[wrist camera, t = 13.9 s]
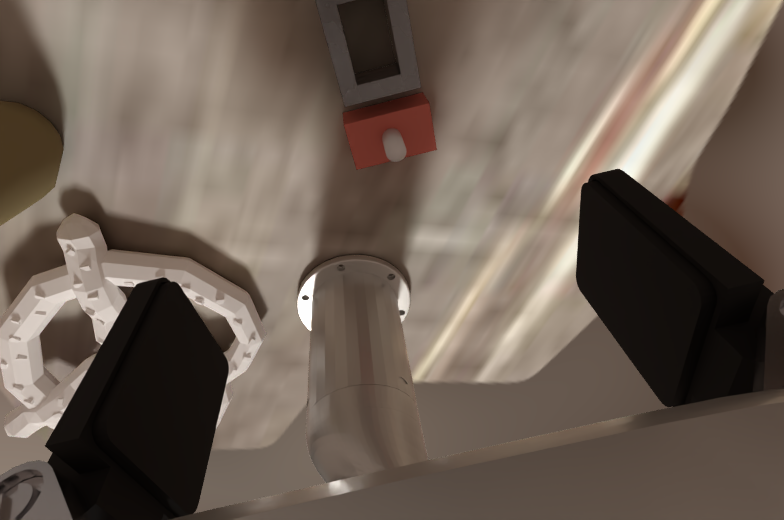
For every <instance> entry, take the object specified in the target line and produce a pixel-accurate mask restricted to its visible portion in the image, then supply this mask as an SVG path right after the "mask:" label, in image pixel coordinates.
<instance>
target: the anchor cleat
mask: <svg viewBox="0 0 784 520" xmlns="http://www.w3.org/2000/svg"><path fill="white" fill-rule="evenodd" d="M343 121H344V127H345V131H346V134H347V138H348V141H349V145H350V148H351V152H352V155H353V159H354V162H355V166H356V169H357V170H358V169H362V168H366V167H370V166H374V165H378V164H382V163H386V162H390V161H393V162H398V161H401V160H402V159H404V158H406V157H410V156H414V155H418V154H422V153H426V152H430V151H434V150H437V148H436V142H435V136H434V129H433V123H432V117H431V111H430V105H429V102H428V100H427V99H426V97H425V95H424V94H423V92H422V93H418V94H414V95H410V96H406V97H403V98H399V99H395V100H391V101H387V102H383V103H379V104H375V105H371V106H367V107H364V108H360V109H356V110H352V111H348V112H344V113H343Z"/></svg>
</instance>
